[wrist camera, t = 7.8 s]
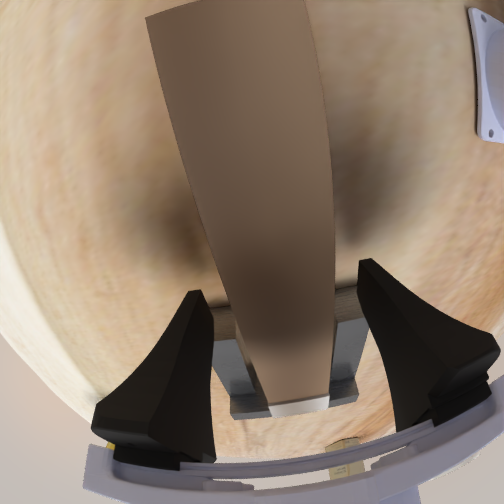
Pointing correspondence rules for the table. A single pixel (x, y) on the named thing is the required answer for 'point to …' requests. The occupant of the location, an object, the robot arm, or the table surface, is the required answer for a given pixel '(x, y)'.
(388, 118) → the table surface
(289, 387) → the walnut rail
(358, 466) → the skincare box
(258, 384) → the u-shaped metal bracket
